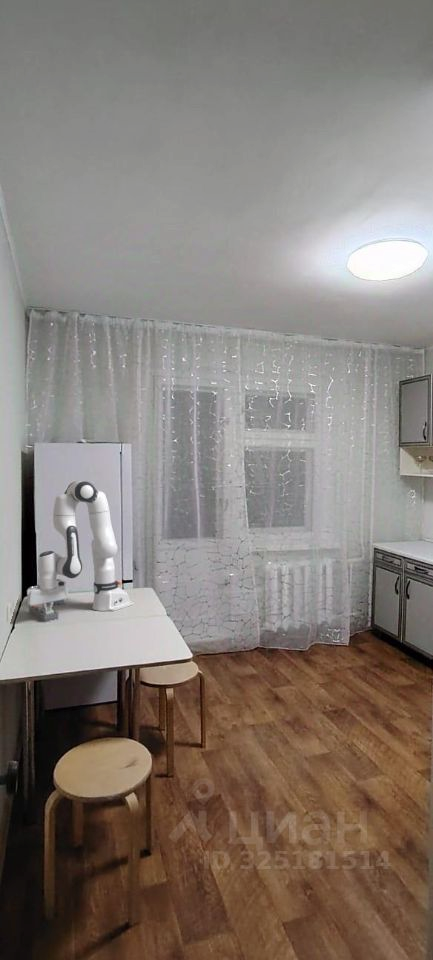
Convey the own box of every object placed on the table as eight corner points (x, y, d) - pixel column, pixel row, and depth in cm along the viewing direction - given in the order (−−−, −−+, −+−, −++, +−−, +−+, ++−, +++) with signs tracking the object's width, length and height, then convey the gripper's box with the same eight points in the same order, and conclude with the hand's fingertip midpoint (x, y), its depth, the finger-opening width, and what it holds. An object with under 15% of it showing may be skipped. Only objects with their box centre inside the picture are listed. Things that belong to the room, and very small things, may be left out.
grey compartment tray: (42, 610, 267) (41, 604, 267) (58, 619, 252) (58, 612, 252) (29, 613, 262) (28, 606, 262) (44, 622, 247) (44, 615, 247)
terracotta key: (40, 609, 265) (40, 604, 265) (43, 611, 262) (43, 605, 262) (32, 611, 262) (32, 605, 262) (36, 612, 259) (35, 607, 259)
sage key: (50, 614, 255) (50, 609, 255) (54, 616, 252) (53, 610, 252) (43, 616, 252) (43, 610, 252) (46, 618, 249) (46, 612, 249)
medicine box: (47, 604, 280) (47, 588, 279) (52, 601, 284) (52, 586, 284) (59, 605, 277) (59, 589, 277) (64, 602, 282) (64, 587, 281)
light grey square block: (45, 609, 260) (45, 604, 260) (48, 611, 257) (48, 605, 257) (37, 611, 257) (37, 605, 257) (41, 613, 254) (40, 607, 254)
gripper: (29, 588, 242) (30, 616, 243) (68, 581, 256) (69, 608, 257) (24, 586, 247) (25, 613, 248) (63, 579, 261) (64, 605, 261)
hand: (47, 610), depth 252 cm, fingers closed, pressing on sage key
